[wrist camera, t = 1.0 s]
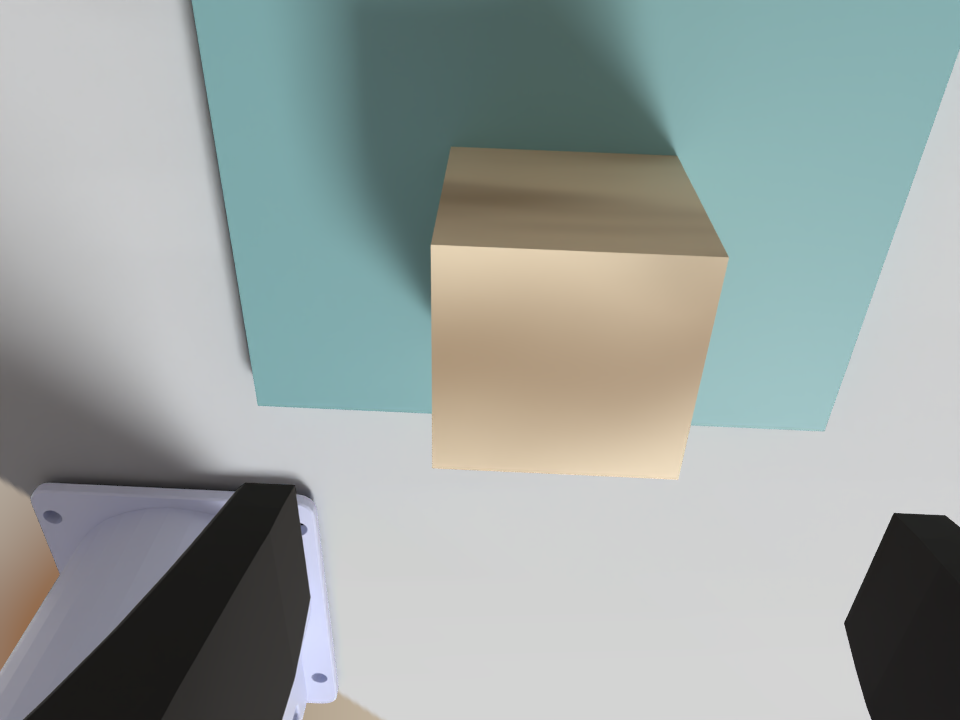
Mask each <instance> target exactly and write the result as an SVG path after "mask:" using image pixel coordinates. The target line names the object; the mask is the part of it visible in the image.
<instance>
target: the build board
mask: <svg viewBox="0 0 960 720" xmlns="http://www.w3.org/2000/svg"><path fill="white" fill-rule="evenodd" d="M192 6H193V12H194V18H195V24H196V30H197V36H198V43H199V49H200V55H201V61H202V67H203V73H204V79H205V85H206V92H207V98H208V104H209V110H210V116H211V122H212V128H213V134H214V140H215V147H216V153H217V159H218V165H219V171H220V177H221V183H222V189H223V195H224V202H225V208H226V214H227V220H228V226H229V232H230V238H231V244H232V250H233V257H234V263H235V269H236V275H237V281H238V287H239V293H240V299H241V305H242V312H243V318H244V324H245V330H246V336H247V342H248V348H249V354H250V360H251V367H252V373H253V379H254V385H255V391H256V397H257V403H258V406H276V407H298V408H320V409H342V410H364V411H386V412H408V413H430V414H432V345H431V241H432V236H433V232H434V227H435V222H436V217H437V212H438V207H439V202H440V197H441V193H442V188H443V183H444V178H445V173H446V168H447V163H448V158H449V153H450V149H451V147H472V148H497V149H522V150H546V151H571V152H596V153H621V154H645V155H670V156H678V158H679V160H680V162H681V164H682V166H683V168H684V170H685V172H686V174H687V176H688V178H689V180H690V182H691V184H692V186H693V188H694V190H695V192H696V193H697V195H698V197H699V199H700V201H701V203H702V205H703V207H704V209H705V211H706V213H707V215H708V217H709V219H710V221H711V223H712V225H713V227H714V229H715V231H716V233H717V235H718V237H719V239H720V241H721V243H722V245H723V247H724V249H725V250H726V252H727V254H728V256H729V260H728V264H727V268H726V273H725V277H724V282H723V286H722V290H721V295H720V299H719V303H718V308H717V312H716V316H715V321H714V325H713V330H712V334H711V338H710V343H709V347H708V351H707V356H706V360H705V364H704V369H703V373H702V378H701V382H700V386H699V391H698V395H697V399H696V404H695V408H694V412H693V417H692V421H691V425H695V426H717V427H739V428H761V429H783V430H805V431H825V428H826V425H827V423H828V420H829V417H830V414H831V411H832V408H833V406H834V403H835V400H836V397H837V394H838V391H839V389H840V386H841V383H842V380H843V377H844V374H845V372H846V369H847V366H848V363H849V360H850V357H851V355H852V352H853V349H854V346H855V343H856V341H857V338H858V335H859V332H860V329H861V326H862V324H863V321H864V318H865V315H866V312H867V309H868V307H869V304H870V301H871V298H872V295H873V292H874V290H875V287H876V284H877V281H878V278H879V275H880V273H881V270H882V267H883V264H884V261H885V259H886V256H887V253H888V250H889V247H890V244H891V242H892V239H893V236H894V233H895V230H896V227H897V225H898V222H899V219H900V216H901V213H902V210H903V208H904V205H905V202H906V199H907V196H908V193H909V191H910V188H911V185H912V182H913V179H914V176H915V174H916V171H917V168H918V165H919V162H920V160H921V157H922V154H923V151H924V148H925V145H926V143H927V140H928V137H929V134H930V131H931V128H932V126H933V123H934V120H935V117H936V114H937V111H938V109H939V106H940V103H941V100H942V97H943V94H944V92H945V89H946V86H947V83H948V80H949V78H950V75H951V72H952V69H953V66H954V63H955V61H956V58H957V55H958V52H959V49H960V0H192Z"/></svg>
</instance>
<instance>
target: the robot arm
mask: <svg viewBox="0 0 960 720" xmlns="http://www.w3.org/2000/svg"><path fill="white" fill-rule="evenodd" d="M30 498H31V503H32V506H33V508H34V511H35V513H36V516H37V518H38V521H39V523H40V526H41V528H42V531H43V533H44V536H45V538H46V540H47V543H48V546H49V548H50V551H51V553H52V556H53V558H54V561H55V563H56V565H57V568H58V570H59V573H60V575H59V577H58V579H57V580H56V582H55V583H54V585H53V587H52V588H51V590H50V592H49V593H48V595H47V596H46V598H45V600H44V601H43V603H42V605H41V606H40V608H39V609H38V611H37V613H36V614H35V616H34V618H33V619H32V621H31V623H30V625H29V626H28V627H27V629H26V631H25V632H24V634H23V635H22V637H21V639H20V640H19V642H18V644H17V645H16V647H15V648H14V650H13V652H12V653H11V655H10V657H9V658H8V660H7V661H6V663H5V665H4V666H3V668H2V670H1V671H0V720H302V719H303V714H304V711H305V707H306V703H307V702H308V703H329V702H332V701H334V700H335V699H336V697H337V692H338V688H339V686H338V678H337V670H336V661H335V653H334V645H333V637H332V629H331V620H330V612H329V604H328V596H327V588H326V579H325V571H324V563H323V555H322V547H321V538H320V530H319V522H318V514H317V507H316V505H315V503H314V502H313V501H312V500H311V499H310V498H308V497H306V496H304V495H298V494H296V490H295V485H280V484H259V483H244V484H243V485H242V486H241V487H239V488H238V489H237V490H236V491H215V490H194V489H172V488H151V487H130V486H109V485H87V484H66V483H42V484H41V485H39V486H38V487H37V488H36V489H35V491H34V492H33V494H32V495H31V497H30ZM300 523H302V524H304V525H300ZM844 625H845V628H846V632H847V636H848V640H849V644H850V648H851V652H852V656H853V660H854V664H855V668H856V672H857V675H858V678H859V682H860V685H861V689H862V692H863V696H864V699H865V703H866V706H867V709H868V711H869V714H870V717H871V719H872V720H960V527H959V526H958V525H957V524H955V523H954V522H953V521H952V520H950V519H949V518H948V517H947V516H945V515H924V514H902V513H894V514H893V516H892V518H891V521H890V523H889V525H888V527H887V529H886V532H885V534H884V536H883V538H882V540H881V543H880V545H879V547H878V549H877V552H876V554H875V556H874V558H873V560H872V563H871V565H870V567H869V569H868V572H867V574H866V576H865V578H864V580H863V583H862V585H861V587H860V589H859V591H858V594H857V596H856V598H855V600H854V603H853V605H852V607H851V609H850V611H849V614H848V616H847V618H846V620H845V622H844Z"/></svg>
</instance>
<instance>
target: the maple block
mask: <svg viewBox="0 0 960 720" xmlns="http://www.w3.org/2000/svg"><path fill="white" fill-rule="evenodd" d="M728 260H729V256H728V254H727V252H726V250H725V249H724V247H723V245H722V243H721V241H720V239H719V237H718V235H717V233H716V231H715V229H714V227H713V225H712V223H711V221H710V219H709V217H708V215H707V213H706V211H705V209H704V207H703V205H702V203H701V201H700V199H699V197H698V195H697V193H696V192H695V190H694V188H693V186H692V184H691V182H690V180H689V178H688V176H687V174H686V172H685V170H684V168H683V166H682V164H681V162H680V160H679V158H678V156H670V155H645V154H621V153H596V152H571V151H546V150H522V149H497V148H472V147H451V149H450V153H449V158H448V163H447V168H446V173H445V178H444V183H443V188H442V193H441V197H440V202H439V207H438V212H437V217H436V222H435V227H434V232H433V236H432V241H431V345H432V468H438V469H460V470H481V471H503V472H524V473H546V474H568V475H589V476H611V477H632V478H654V479H675V480H678V478H679V473H680V469H681V465H682V460H683V456H684V452H685V447H686V443H687V439H688V434H689V430H690V426H691V421H692V417H693V412H694V408H695V404H696V399H697V395H698V391H699V386H700V382H701V378H702V373H703V369H704V364H705V360H706V356H707V351H708V347H709V343H710V338H711V334H712V330H713V325H714V321H715V316H716V312H717V308H718V303H719V299H720V295H721V290H722V286H723V282H724V277H725V273H726V268H727V264H728Z"/></svg>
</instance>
